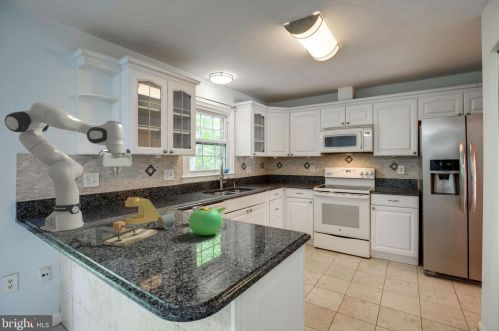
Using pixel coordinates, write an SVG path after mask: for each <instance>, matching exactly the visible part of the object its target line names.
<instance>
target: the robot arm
mask: <svg viewBox="0 0 499 331" xmlns="http://www.w3.org/2000/svg"><path fill="white" fill-rule="evenodd" d="M4 124H5V126H6V128H7V129H8V130H10V131H11V132H14V133H19V135H18V141H19V142H20V143H21V145H22V146H23V148H25V149H26V150H27V151H28V152H29V153H30V154H31V155H32V156H34V158H36V159H37V161H39V162H40V163H42V164H43V165H45V166H46V167H48V169H47V175H48V177H49V178H50V179H51V181H52V184H53V188H54V193H55V205H54V206H52V208H53V211H52V212H51V213H50V214H49V215H48V216H47V217H45V221H44V225H43V226H41V227H39V230H41V229H42V230H41V231H45V230H46V232H49V231H50V232H49V233H56V232H64V231H71V230H75V229H80V228H82V227H84V225H85V222H84V221H83V220H84V219H83V215H82V211H81V210H80V209H81V202H80V189H79V188H78V186H77V182H76V180H77V179H79V178H80V177H82V175H83V174H84V170H85V169H84V167H83V165H82V164H80V163H78V162H77V161H76V160H74V159H73V158H72V157H70V156H69V155H67V154H66V153H64V152H63V151H62V150H60V149H59V148H58V147H57V146H56V145H55V144H54V143H52V141H50V139H48V138H47V137H46V136H45V135H44V134H43V133H44V132H47V131H48V129H49V127H52V128H55V129H58V130H63V131H71V132H78V133H82V134H84V135H86V138H87V140H88V142H89V143H91V144H93V145H98V146H99V145H100V146H104V147H105V148H106V149H101V150H100V151H98V158H97V166H98V168H110V170H111V172H112V176H119V175H120V171H121V170H122V168H125V167H132V164H133V158H132V150H130V149H129V148H127V147H125V143H124V140H125V139H124V138H125V131H124V129H125V128H124V126H123V124H122V123H121V122H119V121H115V120H108V121H106V122H105V123H103V124H101V125H97V126H95V125H92V124H90V123H88V122H86V121H84V120H82V119H80V118H79V117H78V116H75V115H73V114H72V113H70V112H68V110H67V111H66V110H65V109H64V108H60V107H59V106H55V105H54V104H49V103H46V102H44V101H43V102H42V101H37V102H35V103H33V104H32V105H31V107H30V109H29V110H28V109H27V110H23V111H14V112H11V113H9V114H7V115H6V116H5V117H4Z"/></svg>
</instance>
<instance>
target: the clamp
mask: <svg viewBox="0 0 499 331" xmlns="http://www.w3.org/2000/svg"><path fill="white" fill-rule="evenodd" d="M124 202H125V203H124V205H125V207H126V208H135V207H138V210H137V212H138V215H132V216H129V217H125V225H132V226H136V225H141V224H145V223H151V222H158V217H160V216H162V215H161V213H160V212H159V211H158V210H157V208H156V207H155V205H154V204H153V203H152V201H151V200H150V199H148V198H144V197H141V198H140V196H132V197H127V199H126V200H125V201H124Z"/></svg>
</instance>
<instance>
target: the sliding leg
mask: <svg viewBox="0 0 499 331" xmlns="http://www.w3.org/2000/svg"><path fill="white" fill-rule="evenodd" d="M136 227H137V225H126V221H121V220H119V221H115V222H112V230H114V231H120V233H122V232H124V231H125V229H128V228H133V233H135V228H136Z"/></svg>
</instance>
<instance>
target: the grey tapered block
mask: <svg viewBox="0 0 499 331" xmlns="http://www.w3.org/2000/svg"><path fill="white" fill-rule="evenodd" d="M136 229H139V227H138V226H136V228H135V230H136ZM131 231H133V228H125V231H124V232H122V233H120V231H114V230H113V229H111V228H110V226H100V227H96V228H95V239H94V240H91V241H90V246H92V247H98V246H101V245H104V241H106V240H109V239H111V238H114V237H117V236H118V239H120V235H122V234H125V233H128V232H131Z"/></svg>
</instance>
